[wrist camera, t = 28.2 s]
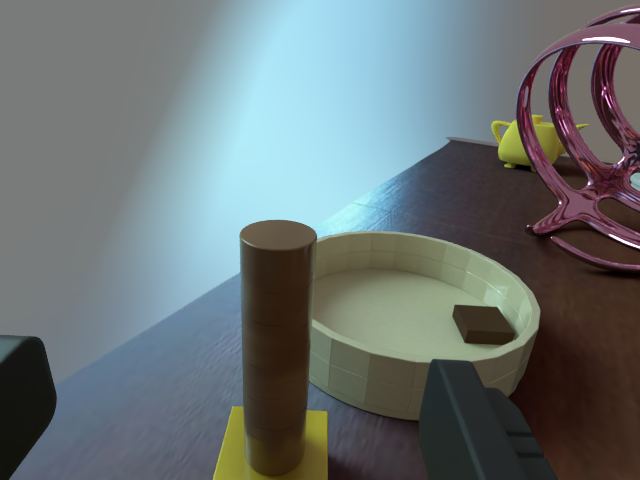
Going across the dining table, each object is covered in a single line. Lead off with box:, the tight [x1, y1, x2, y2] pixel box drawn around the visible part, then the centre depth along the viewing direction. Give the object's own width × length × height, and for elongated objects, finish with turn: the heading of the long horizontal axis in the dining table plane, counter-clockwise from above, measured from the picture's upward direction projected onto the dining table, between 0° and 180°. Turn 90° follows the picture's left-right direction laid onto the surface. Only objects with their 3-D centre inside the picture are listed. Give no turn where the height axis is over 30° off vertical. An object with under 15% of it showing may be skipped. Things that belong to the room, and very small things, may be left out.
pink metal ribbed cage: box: [516, 3, 640, 273], centre depth 47 cm, size 28×28×27 cm
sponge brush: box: [213, 220, 328, 480], centre depth 18 cm, size 5×5×14 cm
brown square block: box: [452, 304, 515, 345], centre depth 34 cm, size 4×4×1 cm
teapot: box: [492, 115, 589, 172], centre depth 90 cm, size 18×11×11 cm, turn 62°
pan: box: [309, 231, 541, 421], centre depth 34 cm, size 19×19×4 cm
